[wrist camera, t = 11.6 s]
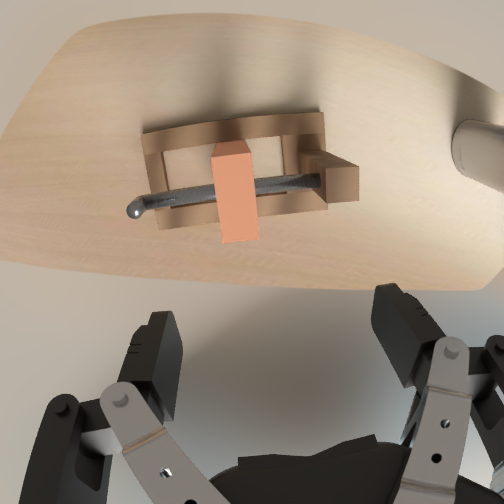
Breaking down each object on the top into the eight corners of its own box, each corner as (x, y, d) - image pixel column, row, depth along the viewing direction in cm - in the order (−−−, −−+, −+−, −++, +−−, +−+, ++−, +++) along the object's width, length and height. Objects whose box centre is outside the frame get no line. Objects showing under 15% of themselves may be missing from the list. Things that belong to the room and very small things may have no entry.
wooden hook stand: (320, 112, 32) (362, 113, 21) (325, 206, 38) (362, 246, 27) (143, 133, 32) (103, 145, 21) (161, 226, 37) (135, 275, 26)
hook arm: (316, 171, 26) (325, 178, 24) (317, 186, 27) (326, 194, 24) (134, 195, 26) (124, 204, 23) (137, 209, 27) (128, 220, 24)
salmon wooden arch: (216, 143, 31) (210, 157, 21) (244, 139, 31) (251, 152, 21) (224, 204, 34) (222, 243, 25) (251, 201, 34) (259, 238, 25)
